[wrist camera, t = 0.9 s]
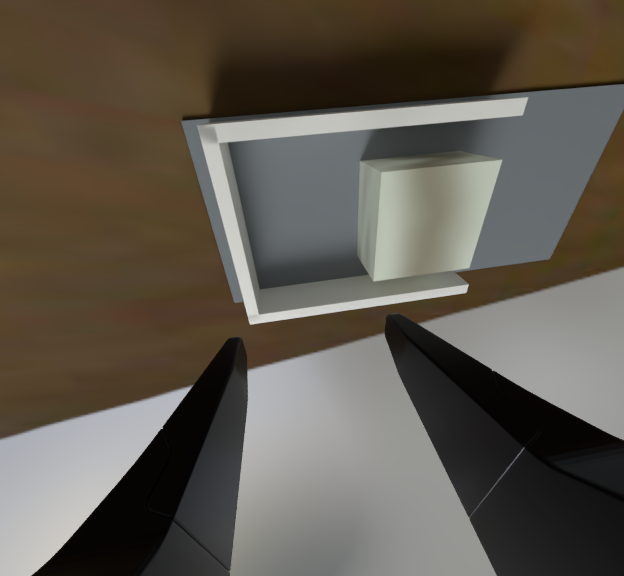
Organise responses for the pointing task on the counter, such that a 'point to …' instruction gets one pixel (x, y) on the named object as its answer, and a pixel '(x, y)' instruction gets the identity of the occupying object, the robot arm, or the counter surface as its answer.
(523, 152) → the mat
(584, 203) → the counter surface
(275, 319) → the cubby
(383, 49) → the counter surface
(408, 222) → the sage block
